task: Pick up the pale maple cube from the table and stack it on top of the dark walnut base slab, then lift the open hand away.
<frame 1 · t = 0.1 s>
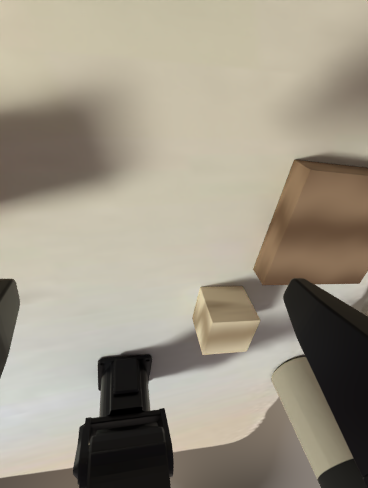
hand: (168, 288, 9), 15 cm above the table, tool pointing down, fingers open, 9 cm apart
maple cube: (216, 302, 32), on the table
travel mug: (293, 368, 45), on the table
walnut base slab: (323, 223, 28), on the table
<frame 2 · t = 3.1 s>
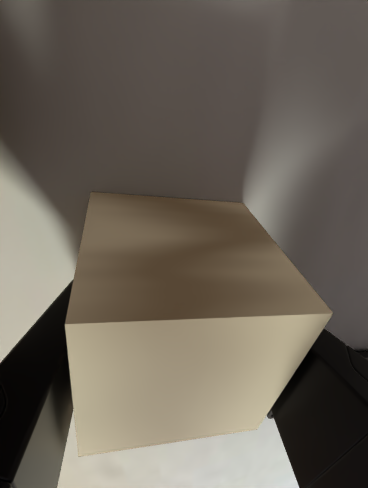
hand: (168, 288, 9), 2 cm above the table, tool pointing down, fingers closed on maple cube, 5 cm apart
maple cube: (162, 259, 10), on the table, touching gripper
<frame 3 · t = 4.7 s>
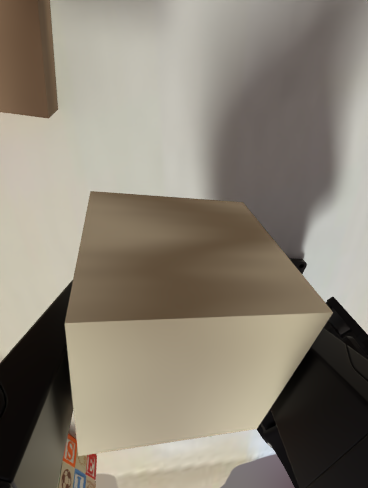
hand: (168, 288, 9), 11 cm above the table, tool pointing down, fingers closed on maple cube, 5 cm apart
stack of blocks: (37, 432, 34), on the table
maple cube: (162, 258, 10), point 10 cm above the table, touching gripper
when the fingers open (5 cm above the table, at t = 7.9 s): maple cube drops 1 cm, resting on walnut base slab.
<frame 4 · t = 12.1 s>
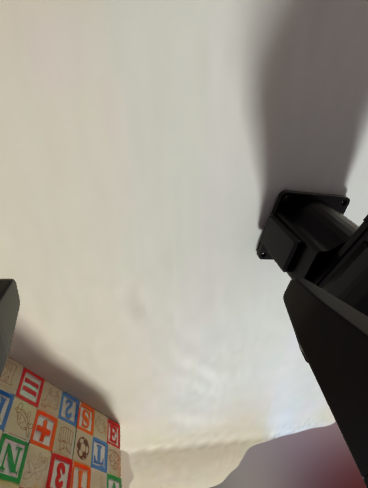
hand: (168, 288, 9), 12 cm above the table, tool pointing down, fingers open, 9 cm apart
stack of blocks: (50, 402, 33), on the table
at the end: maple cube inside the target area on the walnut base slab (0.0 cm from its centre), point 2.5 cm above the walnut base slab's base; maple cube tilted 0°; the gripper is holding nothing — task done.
